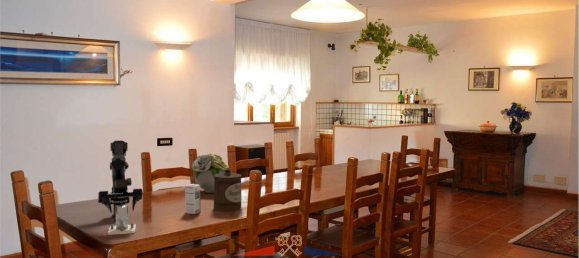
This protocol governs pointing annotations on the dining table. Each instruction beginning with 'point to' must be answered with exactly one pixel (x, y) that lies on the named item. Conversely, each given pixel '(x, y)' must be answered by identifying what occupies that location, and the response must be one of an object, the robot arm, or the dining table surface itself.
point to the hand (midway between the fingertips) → (122, 211)
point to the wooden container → (227, 191)
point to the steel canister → (122, 216)
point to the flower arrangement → (208, 170)
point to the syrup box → (192, 199)
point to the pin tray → (121, 229)
